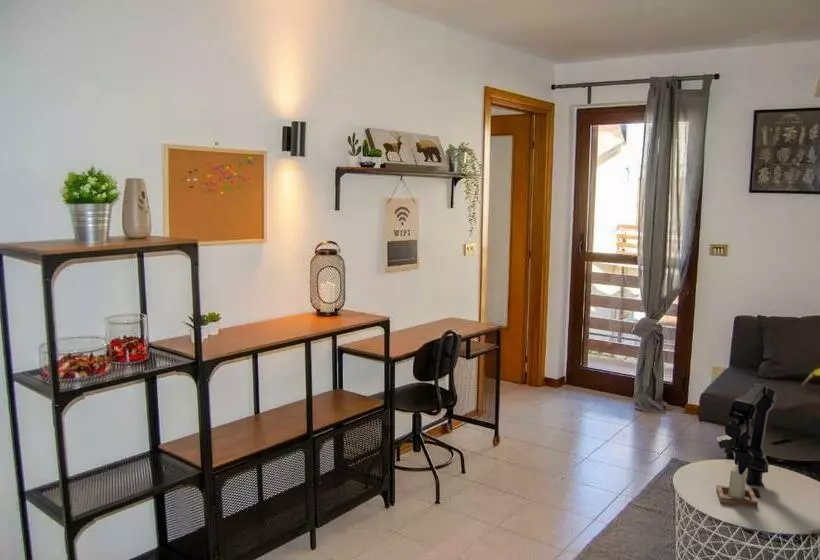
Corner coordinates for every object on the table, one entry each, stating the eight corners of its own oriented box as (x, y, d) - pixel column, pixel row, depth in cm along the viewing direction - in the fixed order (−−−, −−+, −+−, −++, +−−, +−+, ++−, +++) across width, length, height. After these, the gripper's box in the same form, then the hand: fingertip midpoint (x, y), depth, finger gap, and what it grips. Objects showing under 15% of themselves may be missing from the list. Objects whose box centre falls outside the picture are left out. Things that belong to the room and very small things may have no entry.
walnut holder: (716, 490, 265) (716, 485, 264) (751, 495, 261) (752, 489, 260) (720, 503, 254) (720, 497, 254) (757, 508, 250) (757, 502, 250)
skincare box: (733, 493, 261) (735, 465, 259) (745, 497, 258) (747, 468, 256) (727, 499, 257) (730, 469, 255) (739, 503, 254) (742, 473, 252)
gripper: (715, 420, 265) (712, 457, 267) (722, 437, 247) (719, 476, 249) (746, 424, 261) (743, 461, 264) (755, 441, 244) (751, 480, 246)
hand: (738, 469), depth 256 cm, fingers open, 9 cm apart
